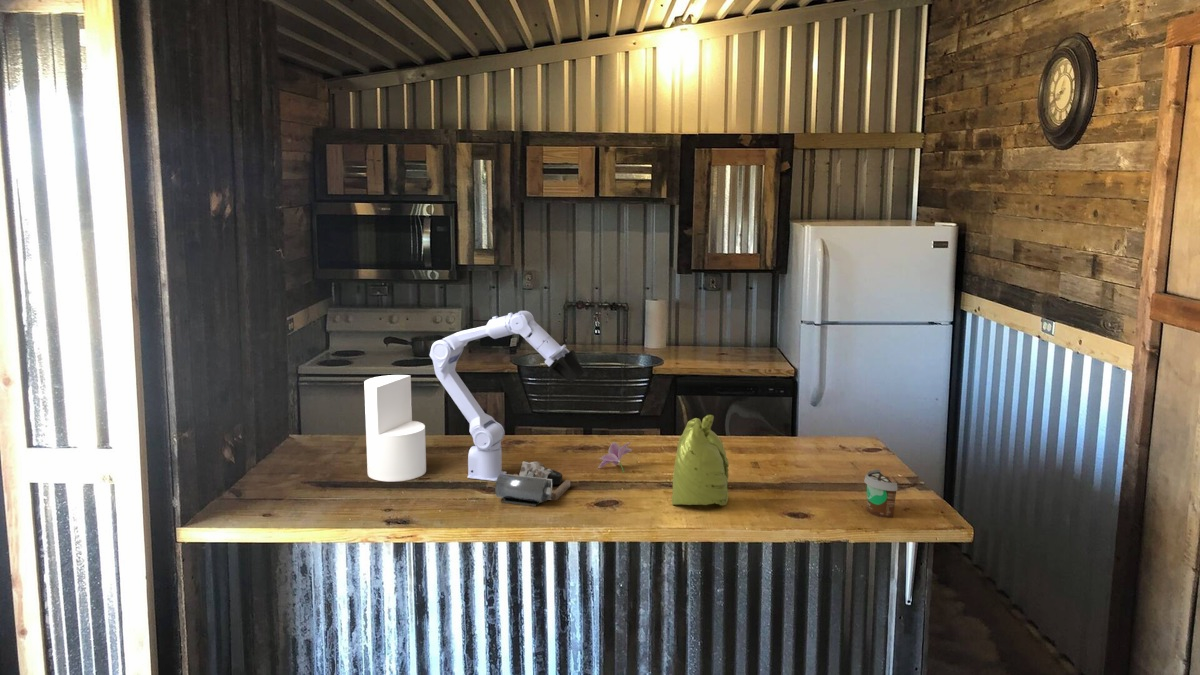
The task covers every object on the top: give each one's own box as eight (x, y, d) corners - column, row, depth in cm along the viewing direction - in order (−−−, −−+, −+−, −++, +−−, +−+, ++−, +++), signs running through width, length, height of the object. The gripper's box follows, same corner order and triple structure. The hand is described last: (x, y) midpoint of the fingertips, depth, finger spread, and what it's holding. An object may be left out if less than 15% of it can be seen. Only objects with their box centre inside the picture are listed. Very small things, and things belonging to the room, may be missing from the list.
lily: (638, 468, 283) (627, 439, 284) (643, 465, 271) (631, 435, 273) (602, 482, 281) (591, 453, 282) (605, 479, 269) (594, 449, 271)
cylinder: (355, 476, 269) (351, 384, 264) (389, 460, 285) (386, 372, 280) (404, 484, 263) (402, 390, 258) (437, 467, 279) (435, 378, 274)
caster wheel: (561, 488, 269) (553, 494, 259) (525, 477, 271) (516, 483, 261) (567, 466, 268) (559, 472, 258) (531, 456, 270) (522, 461, 260)
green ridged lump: (727, 514, 242) (730, 426, 238) (668, 510, 245) (670, 423, 240) (729, 483, 266) (732, 403, 262) (676, 480, 269) (678, 401, 265)
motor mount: (488, 501, 250) (487, 477, 248) (514, 480, 267) (513, 457, 266) (547, 509, 245) (547, 484, 244) (570, 486, 262) (570, 463, 261)
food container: (855, 503, 251) (857, 469, 249) (877, 503, 251) (879, 468, 250) (872, 520, 239) (875, 484, 237) (895, 520, 239) (897, 483, 237)
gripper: (543, 338, 250) (579, 372, 249) (561, 329, 264) (594, 362, 263) (528, 356, 253) (563, 390, 251) (546, 346, 266) (579, 379, 265)
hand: (578, 377), depth 257 cm, fingers open, 7 cm apart
